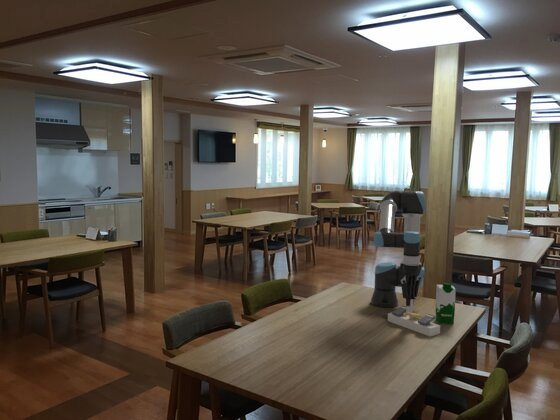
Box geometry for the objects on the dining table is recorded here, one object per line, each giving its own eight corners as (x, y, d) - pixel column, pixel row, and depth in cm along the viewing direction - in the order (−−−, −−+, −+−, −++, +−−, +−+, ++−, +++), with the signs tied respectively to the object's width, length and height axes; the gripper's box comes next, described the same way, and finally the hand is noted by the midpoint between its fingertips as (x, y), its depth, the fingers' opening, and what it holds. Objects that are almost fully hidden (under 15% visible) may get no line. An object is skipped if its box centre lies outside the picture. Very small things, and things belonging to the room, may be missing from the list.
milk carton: (437, 323, 233) (439, 284, 231) (433, 318, 241) (435, 280, 240) (455, 324, 232) (457, 285, 230) (451, 318, 241) (452, 280, 239)
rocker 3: (428, 316, 224) (428, 313, 224) (435, 318, 221) (435, 315, 221) (418, 323, 220) (417, 320, 220) (424, 325, 217) (424, 322, 217)
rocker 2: (414, 315, 231) (415, 313, 231) (421, 318, 228) (422, 315, 228) (404, 314, 226) (405, 311, 226) (410, 316, 223) (411, 313, 223)
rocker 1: (402, 307, 237) (402, 305, 237) (409, 309, 234) (408, 307, 234) (392, 314, 233) (391, 311, 233) (398, 316, 230) (398, 313, 230)
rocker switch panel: (385, 314, 247) (385, 305, 246) (439, 333, 219) (440, 323, 218) (376, 316, 243) (376, 307, 242) (430, 336, 215) (430, 325, 214)
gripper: (413, 261, 230) (412, 308, 232) (395, 264, 223) (394, 312, 225) (426, 263, 224) (424, 312, 226) (408, 266, 216) (406, 316, 218)
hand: (409, 312), depth 225 cm, fingers closed
